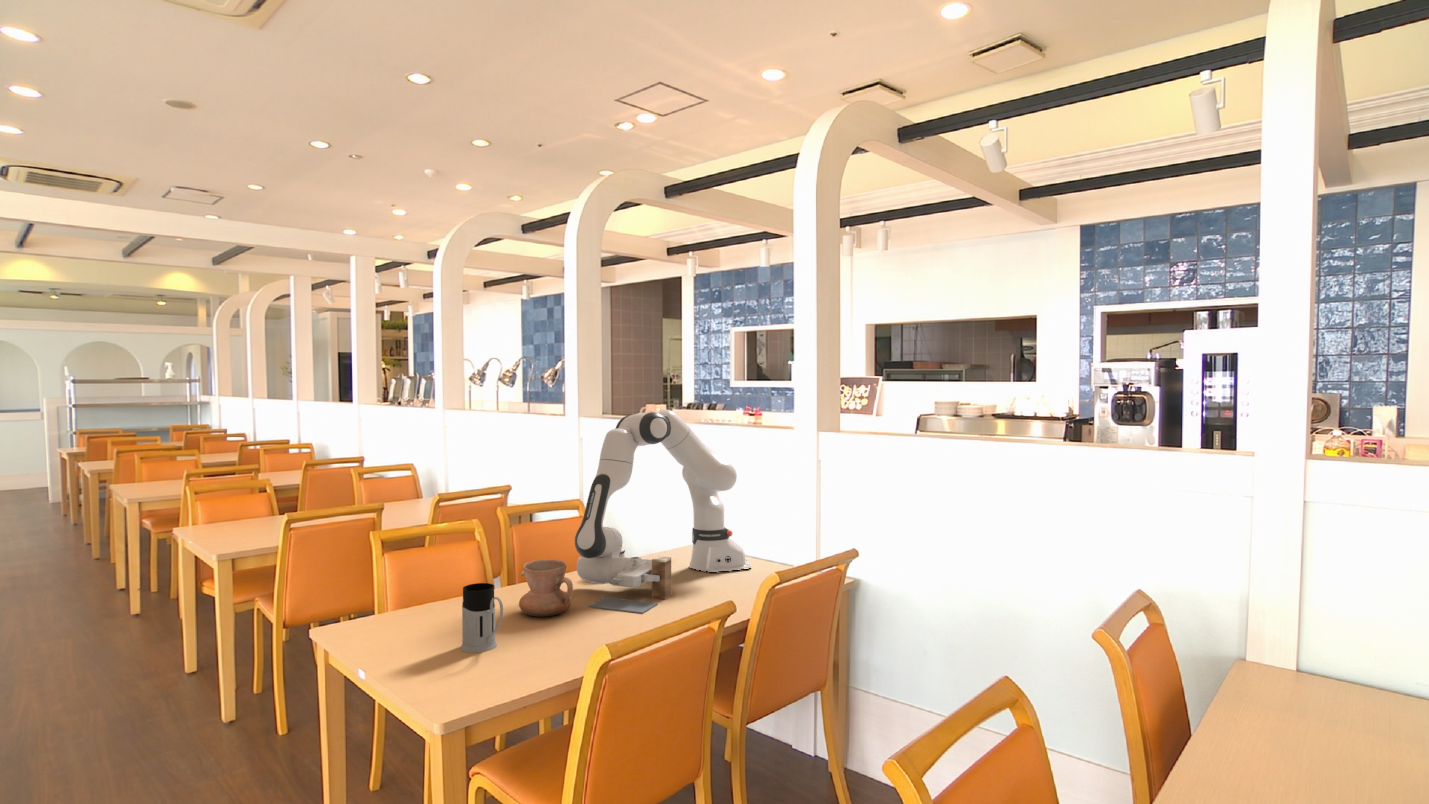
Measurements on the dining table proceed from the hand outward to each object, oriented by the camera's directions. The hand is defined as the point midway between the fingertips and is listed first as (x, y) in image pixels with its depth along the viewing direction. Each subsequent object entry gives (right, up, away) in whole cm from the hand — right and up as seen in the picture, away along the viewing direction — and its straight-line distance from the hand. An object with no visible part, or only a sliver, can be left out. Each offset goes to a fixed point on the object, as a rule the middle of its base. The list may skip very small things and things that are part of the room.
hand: (664, 576), depth 233 cm
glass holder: (-41, -8, -46) cm, 62 cm away
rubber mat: (-11, -7, -9) cm, 16 cm away
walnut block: (-1, -6, 0) cm, 7 cm away
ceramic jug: (-33, -7, -17) cm, 37 cm away
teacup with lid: (-19, -6, +28) cm, 34 cm away
